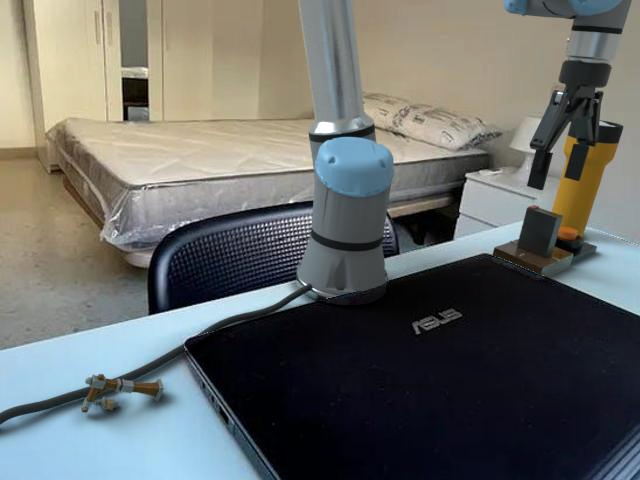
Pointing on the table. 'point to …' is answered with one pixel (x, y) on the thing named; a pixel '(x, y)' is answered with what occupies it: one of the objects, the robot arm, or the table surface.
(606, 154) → the flashlight
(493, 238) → the table surface
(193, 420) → the table surface
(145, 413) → the table surface
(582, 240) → the button block
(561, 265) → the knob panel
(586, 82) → the robot arm
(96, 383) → the toy blaster gun
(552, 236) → the dark gray rectangular block
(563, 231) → the button
